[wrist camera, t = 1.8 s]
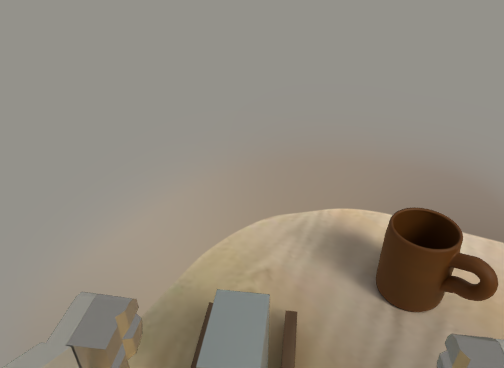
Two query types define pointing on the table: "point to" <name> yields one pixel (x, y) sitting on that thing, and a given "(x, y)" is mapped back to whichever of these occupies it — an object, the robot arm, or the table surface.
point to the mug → (428, 262)
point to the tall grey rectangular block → (236, 331)
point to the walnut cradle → (288, 340)
